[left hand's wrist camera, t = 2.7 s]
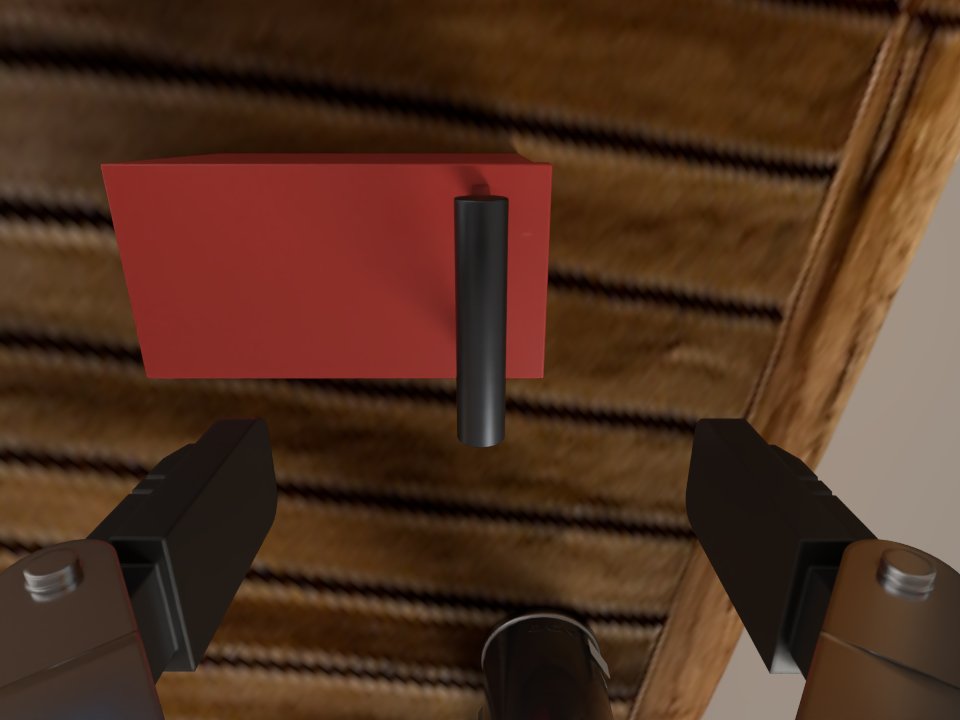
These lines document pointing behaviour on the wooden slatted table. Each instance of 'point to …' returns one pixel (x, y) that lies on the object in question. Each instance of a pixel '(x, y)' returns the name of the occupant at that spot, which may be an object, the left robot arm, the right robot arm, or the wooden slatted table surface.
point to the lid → (340, 272)
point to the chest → (347, 157)
